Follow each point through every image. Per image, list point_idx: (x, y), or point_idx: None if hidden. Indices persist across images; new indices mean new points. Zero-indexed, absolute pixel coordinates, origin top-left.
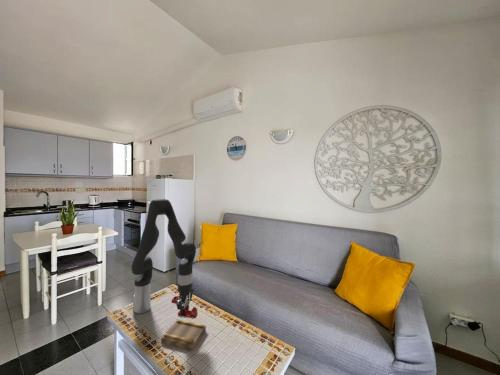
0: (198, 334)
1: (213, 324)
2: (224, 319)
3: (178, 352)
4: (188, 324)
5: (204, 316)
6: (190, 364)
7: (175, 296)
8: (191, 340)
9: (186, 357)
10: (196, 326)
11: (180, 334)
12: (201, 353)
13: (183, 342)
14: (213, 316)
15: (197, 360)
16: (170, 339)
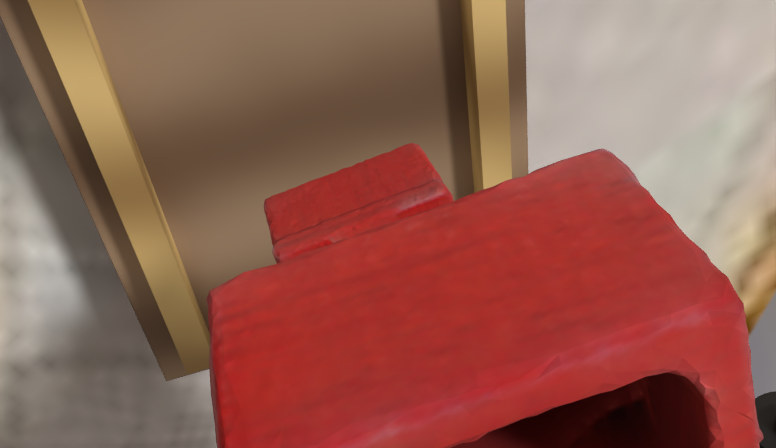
0: None
1: None
2: (733, 275)
3: (30, 213)
4: (465, 61)
5: (761, 32)
6: (14, 421)
7: (735, 378)
8: (191, 360)
9: (48, 335)
10: (475, 191)
11: (217, 109)
12: (196, 404)
13: (119, 268)
14: (772, 140)
15: (101, 433)
16: (18, 50)
